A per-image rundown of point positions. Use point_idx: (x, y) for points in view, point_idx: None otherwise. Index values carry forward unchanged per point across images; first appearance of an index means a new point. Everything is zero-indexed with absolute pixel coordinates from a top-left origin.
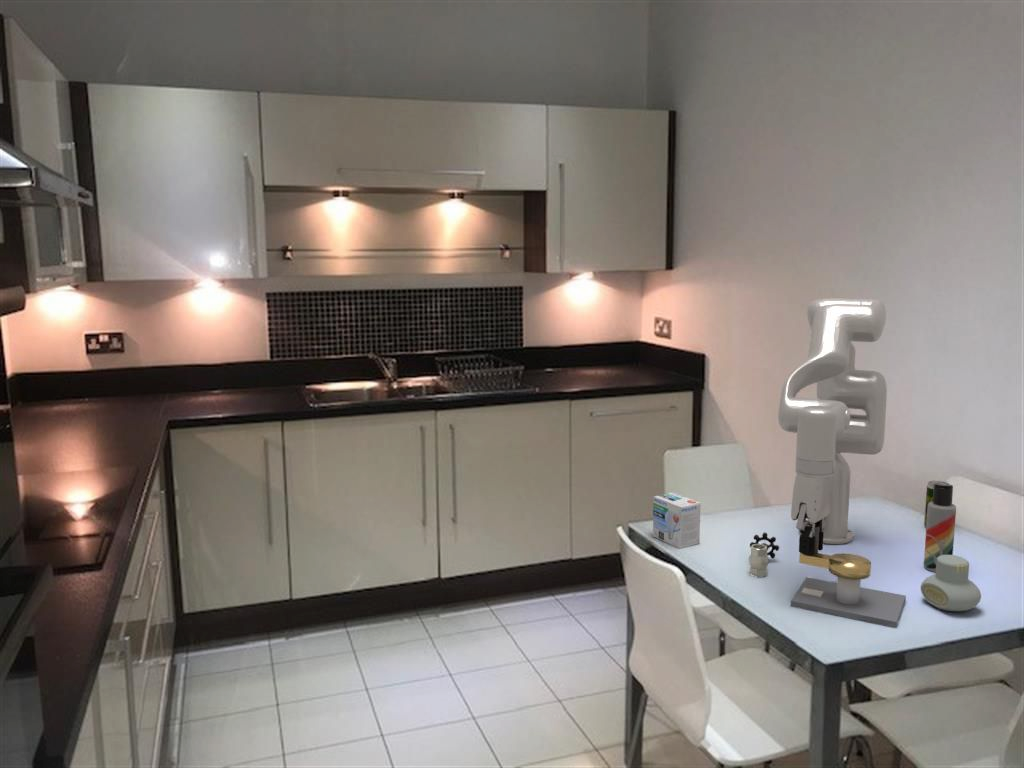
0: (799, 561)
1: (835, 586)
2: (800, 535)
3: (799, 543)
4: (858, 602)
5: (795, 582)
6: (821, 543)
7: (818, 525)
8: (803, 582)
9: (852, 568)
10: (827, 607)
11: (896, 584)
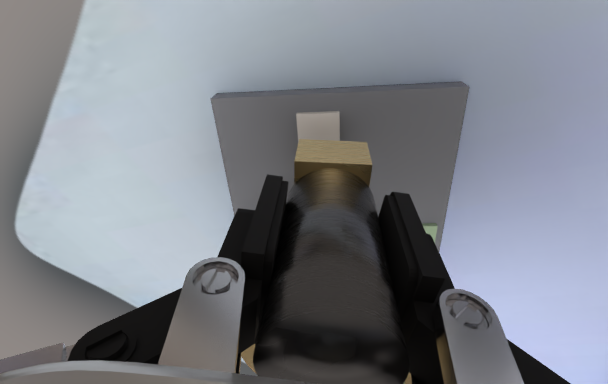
0: (299, 143)
1: (414, 193)
2: (244, 250)
3: (258, 204)
4: None
5: (445, 43)
6: None
7: (431, 381)
8: (404, 92)
9: (245, 361)
10: (237, 205)
11: (531, 298)
